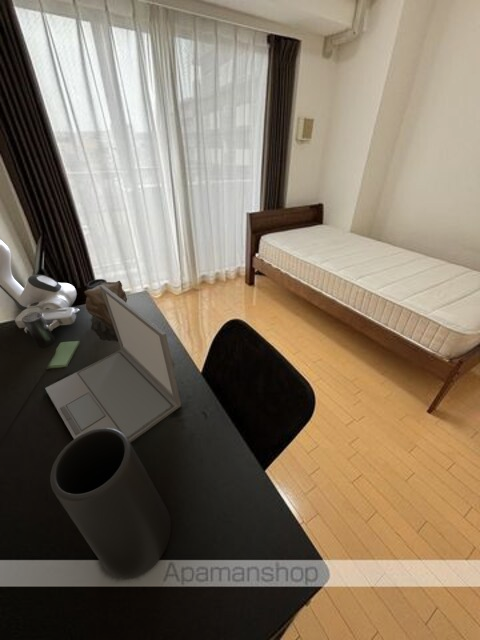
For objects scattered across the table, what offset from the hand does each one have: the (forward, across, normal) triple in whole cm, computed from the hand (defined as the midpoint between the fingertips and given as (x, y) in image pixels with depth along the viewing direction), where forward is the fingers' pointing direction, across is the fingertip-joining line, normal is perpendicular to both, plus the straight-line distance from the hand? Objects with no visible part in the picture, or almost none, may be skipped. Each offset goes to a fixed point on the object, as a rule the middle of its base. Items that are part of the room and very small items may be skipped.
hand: (37, 330), depth 103 cm
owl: (-3, -26, -7) cm, 27 cm away
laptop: (+29, -32, -7) cm, 44 cm away
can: (-1, 0, -6) cm, 7 cm away
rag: (+7, -9, -6) cm, 13 cm away
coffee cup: (-18, -18, -7) cm, 26 cm away
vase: (+65, -46, -7) cm, 80 cm away
